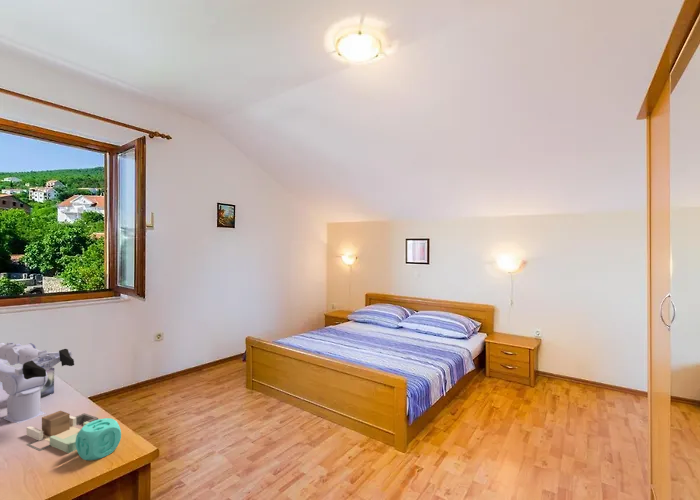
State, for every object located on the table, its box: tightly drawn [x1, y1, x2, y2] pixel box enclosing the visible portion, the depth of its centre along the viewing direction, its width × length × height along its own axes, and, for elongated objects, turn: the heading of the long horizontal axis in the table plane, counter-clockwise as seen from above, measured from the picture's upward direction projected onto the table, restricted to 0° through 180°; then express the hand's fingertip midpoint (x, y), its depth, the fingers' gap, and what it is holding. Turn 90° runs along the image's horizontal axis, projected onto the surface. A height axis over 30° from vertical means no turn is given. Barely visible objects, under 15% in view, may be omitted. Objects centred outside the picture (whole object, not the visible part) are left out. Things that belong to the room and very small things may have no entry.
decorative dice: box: [76, 417, 122, 461], centre depth 100 cm, size 8×8×8 cm
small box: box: [41, 367, 55, 399], centre depth 134 cm, size 11×6×10 cm, turn 168°
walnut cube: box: [41, 410, 71, 437], centre depth 109 cm, size 5×5×5 cm
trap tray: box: [25, 413, 99, 454], centre depth 107 cm, size 22×16×3 cm
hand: (59, 367), depth 111 cm, fingers open, 7 cm apart
